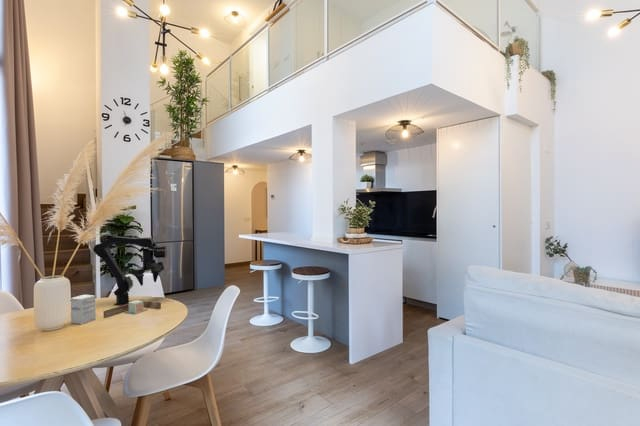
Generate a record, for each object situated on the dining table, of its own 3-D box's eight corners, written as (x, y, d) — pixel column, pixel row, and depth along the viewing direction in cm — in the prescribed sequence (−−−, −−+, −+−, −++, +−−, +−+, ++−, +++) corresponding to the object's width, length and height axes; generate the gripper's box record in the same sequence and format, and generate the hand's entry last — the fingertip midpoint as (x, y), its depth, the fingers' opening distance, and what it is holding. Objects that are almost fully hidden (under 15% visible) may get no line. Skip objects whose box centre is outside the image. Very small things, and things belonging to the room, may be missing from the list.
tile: (124, 312, 168) (124, 312, 168) (137, 308, 175) (137, 307, 175) (134, 314, 165) (134, 313, 165) (147, 309, 173) (147, 309, 173)
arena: (103, 317, 161) (103, 311, 161) (141, 305, 181) (141, 299, 181) (125, 321, 155) (125, 314, 155) (162, 308, 175) (162, 302, 175)
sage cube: (135, 312, 167) (135, 303, 167) (128, 311, 169) (128, 302, 169) (143, 310, 172) (143, 301, 172) (137, 309, 173) (136, 300, 173)
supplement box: (70, 323, 153) (69, 297, 153) (85, 318, 160) (85, 294, 160) (81, 324, 151) (80, 298, 151) (96, 319, 158) (95, 294, 158)
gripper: (144, 261, 177) (144, 288, 177) (170, 256, 194) (170, 281, 194) (130, 260, 181) (130, 287, 181) (157, 256, 198) (157, 280, 198)
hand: (148, 283), depth 188 cm, fingers open, 9 cm apart
